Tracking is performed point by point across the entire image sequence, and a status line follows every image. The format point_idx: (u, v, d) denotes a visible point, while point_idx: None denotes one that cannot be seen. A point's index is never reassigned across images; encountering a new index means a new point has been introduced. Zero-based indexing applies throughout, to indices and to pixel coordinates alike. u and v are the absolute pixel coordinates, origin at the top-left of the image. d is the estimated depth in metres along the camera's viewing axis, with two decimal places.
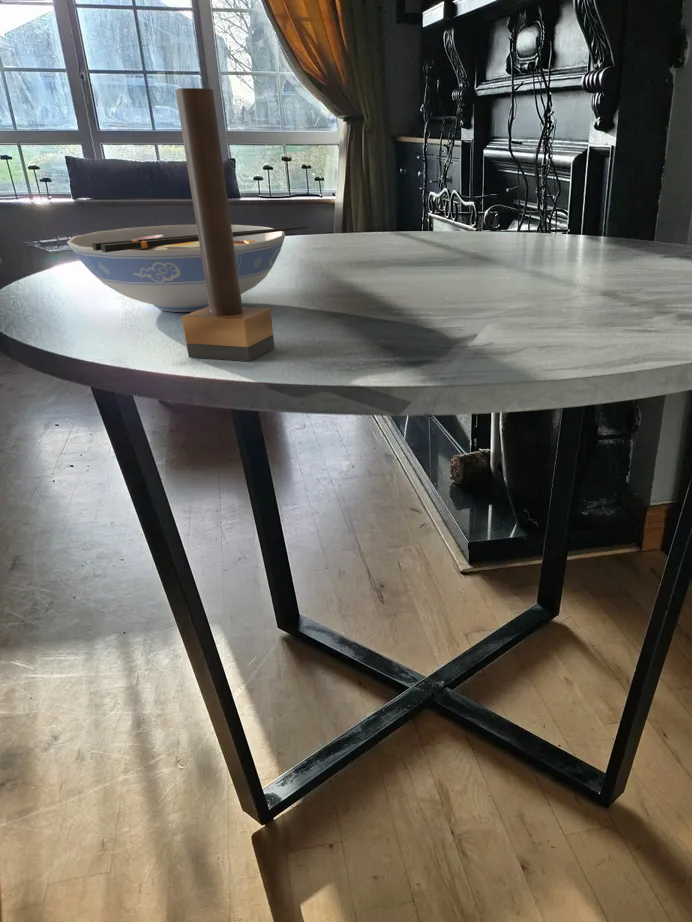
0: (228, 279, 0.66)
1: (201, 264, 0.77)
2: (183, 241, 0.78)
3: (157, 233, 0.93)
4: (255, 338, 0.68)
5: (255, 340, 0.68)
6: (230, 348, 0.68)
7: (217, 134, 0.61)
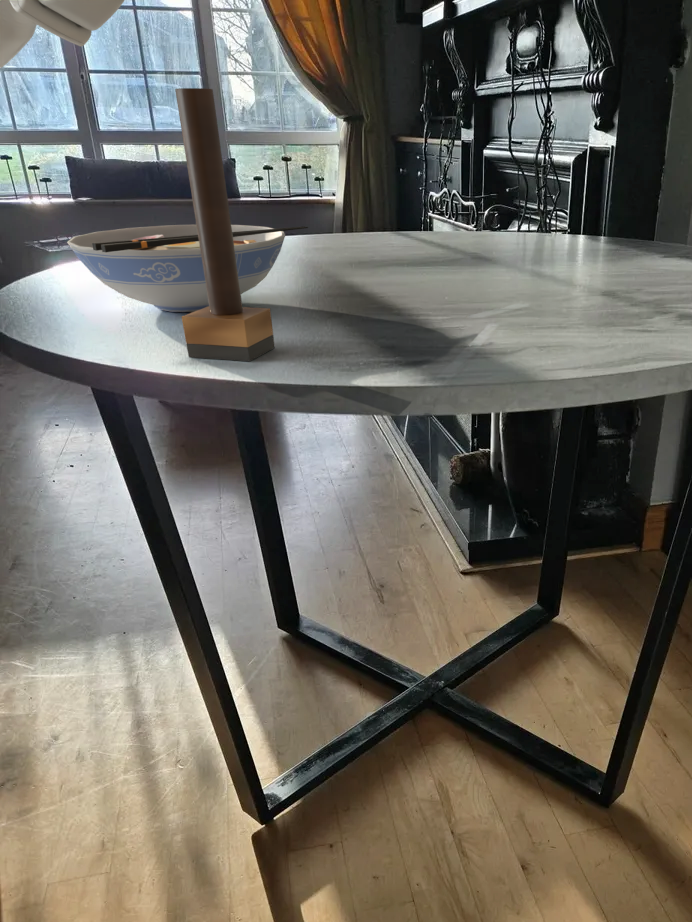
0: (228, 279, 0.66)
1: (201, 264, 0.77)
2: (183, 241, 0.78)
3: (157, 233, 0.93)
4: (255, 338, 0.68)
5: (255, 340, 0.68)
6: (230, 348, 0.68)
7: (217, 134, 0.61)
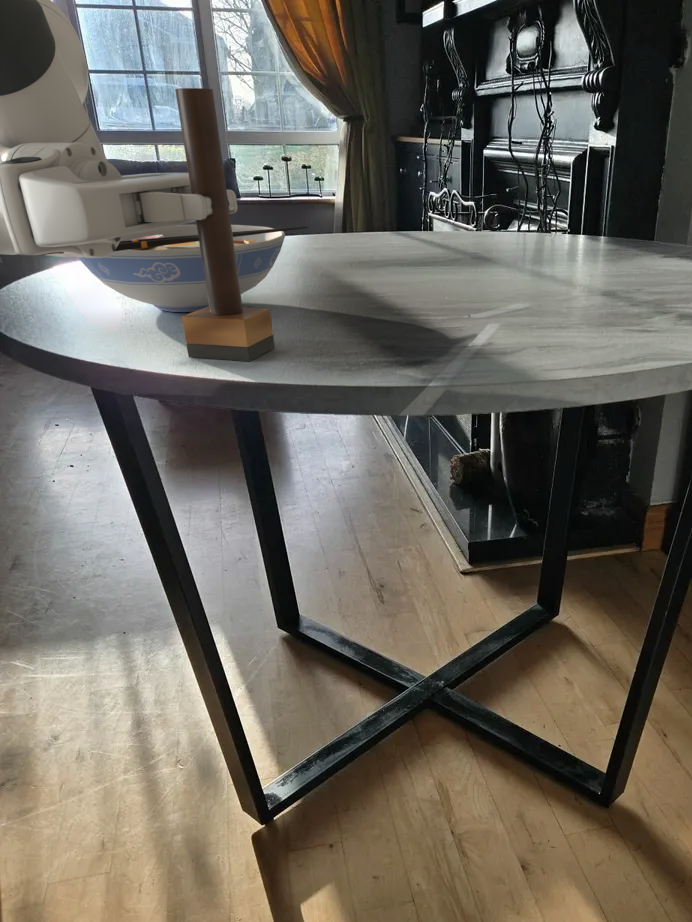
0: (228, 279, 0.66)
1: (201, 264, 0.77)
2: (183, 241, 0.78)
3: (157, 233, 0.93)
4: (255, 338, 0.68)
5: (255, 340, 0.68)
6: (230, 348, 0.68)
7: (217, 134, 0.61)
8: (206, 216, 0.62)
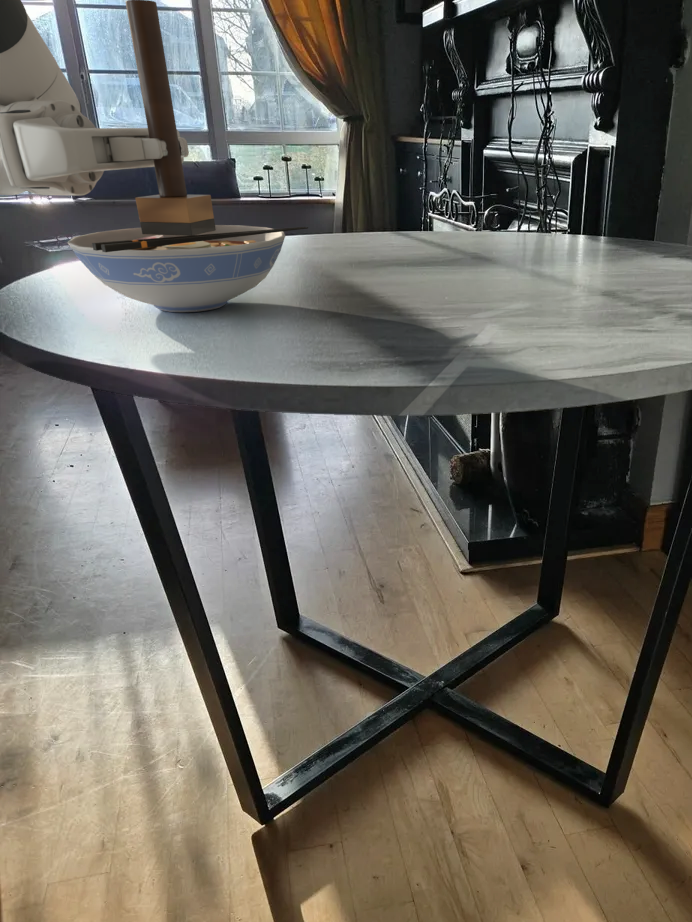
0: (173, 166, 0.80)
1: (201, 264, 0.77)
2: (183, 241, 0.78)
3: None
4: (197, 217, 0.82)
5: (197, 218, 0.82)
6: (176, 224, 0.82)
7: (160, 40, 0.75)
8: (162, 156, 0.79)
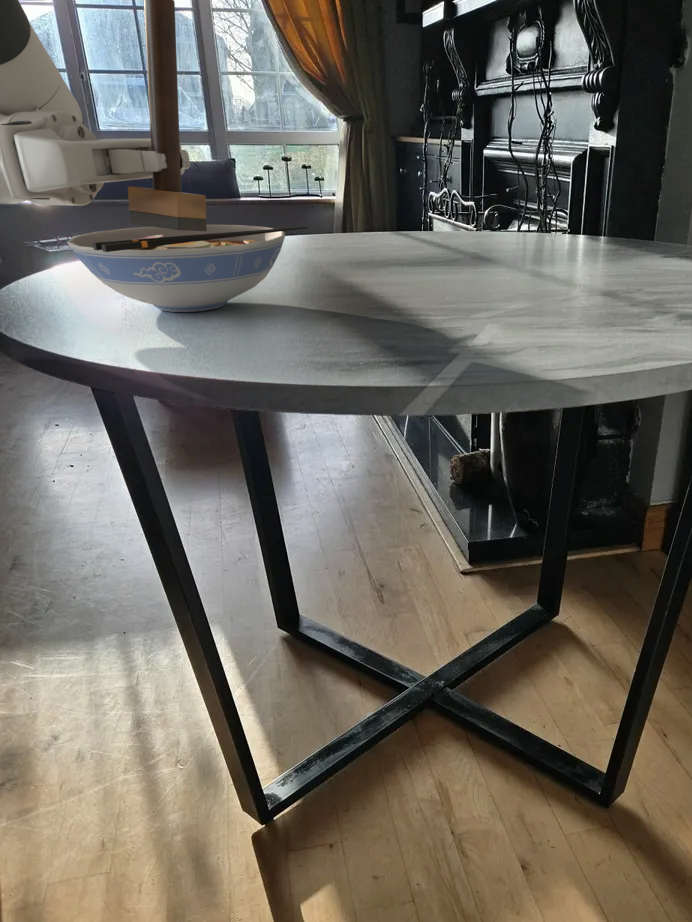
0: (170, 160, 0.80)
1: (201, 264, 0.77)
2: (183, 241, 0.78)
3: (157, 233, 0.93)
4: (187, 213, 0.81)
5: (187, 215, 0.81)
6: (164, 217, 0.81)
7: (174, 37, 0.76)
8: (161, 169, 0.79)
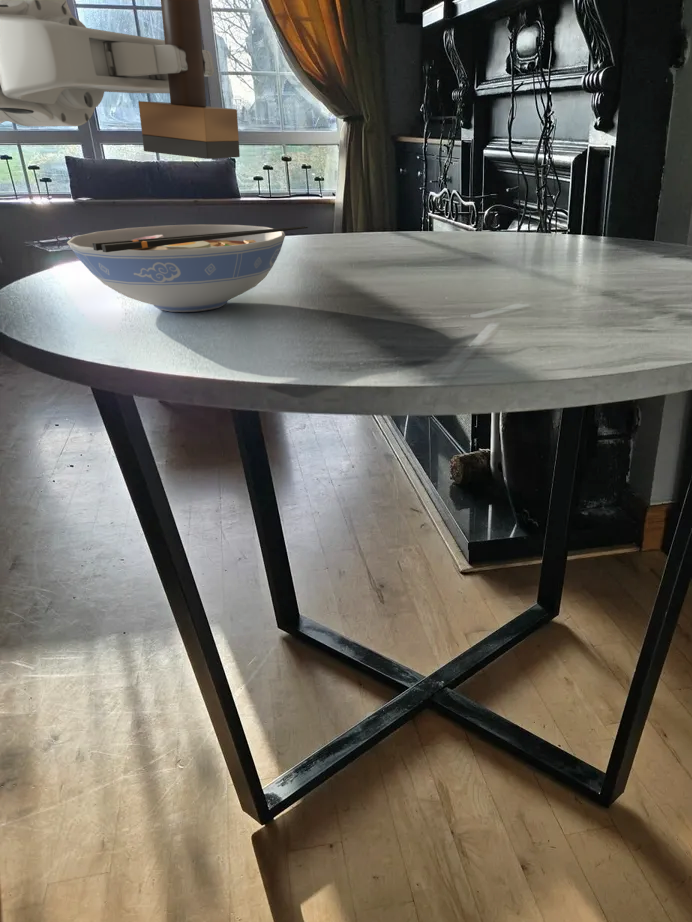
0: (191, 63, 0.61)
1: (201, 264, 0.77)
2: (183, 241, 0.78)
3: (157, 233, 0.93)
4: (216, 135, 0.63)
5: (216, 137, 0.63)
6: (188, 142, 0.63)
7: None
8: (180, 70, 0.60)
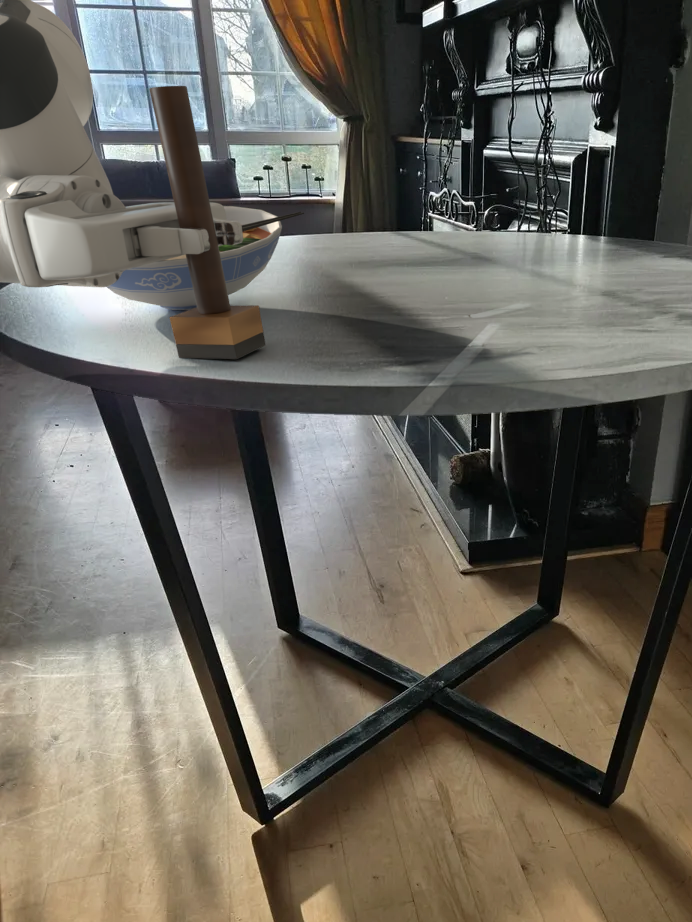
0: (213, 278, 0.66)
1: None
2: None
3: None
4: (242, 335, 0.68)
5: (242, 338, 0.68)
6: (218, 347, 0.67)
7: (193, 131, 0.61)
8: (203, 250, 0.63)
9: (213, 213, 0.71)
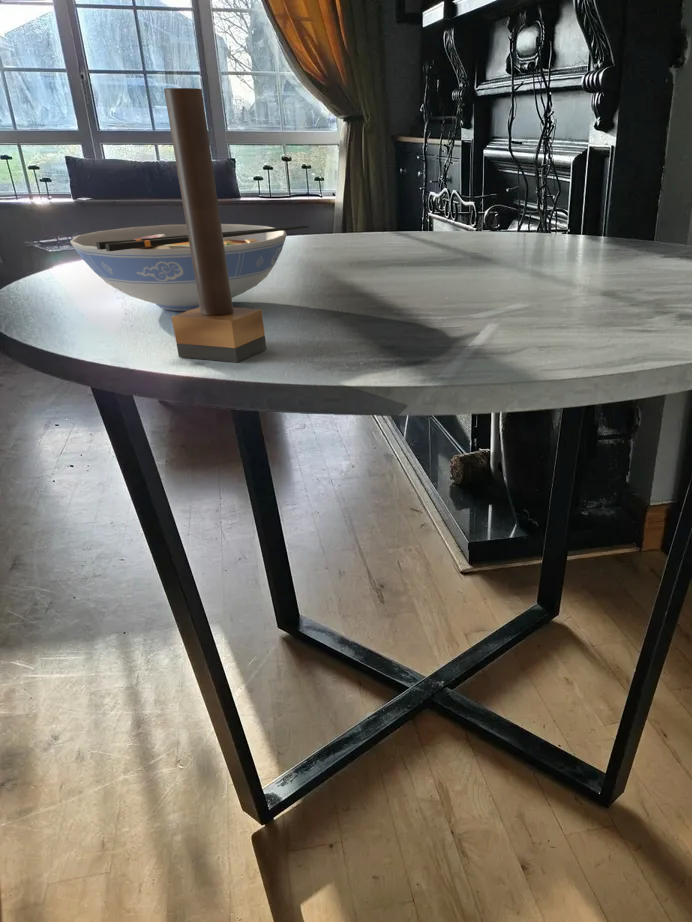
0: (217, 280, 0.66)
1: None
2: (186, 240, 0.78)
3: (158, 232, 0.93)
4: (244, 339, 0.68)
5: (244, 341, 0.68)
6: (219, 349, 0.67)
7: (206, 134, 0.61)
8: None
9: None
